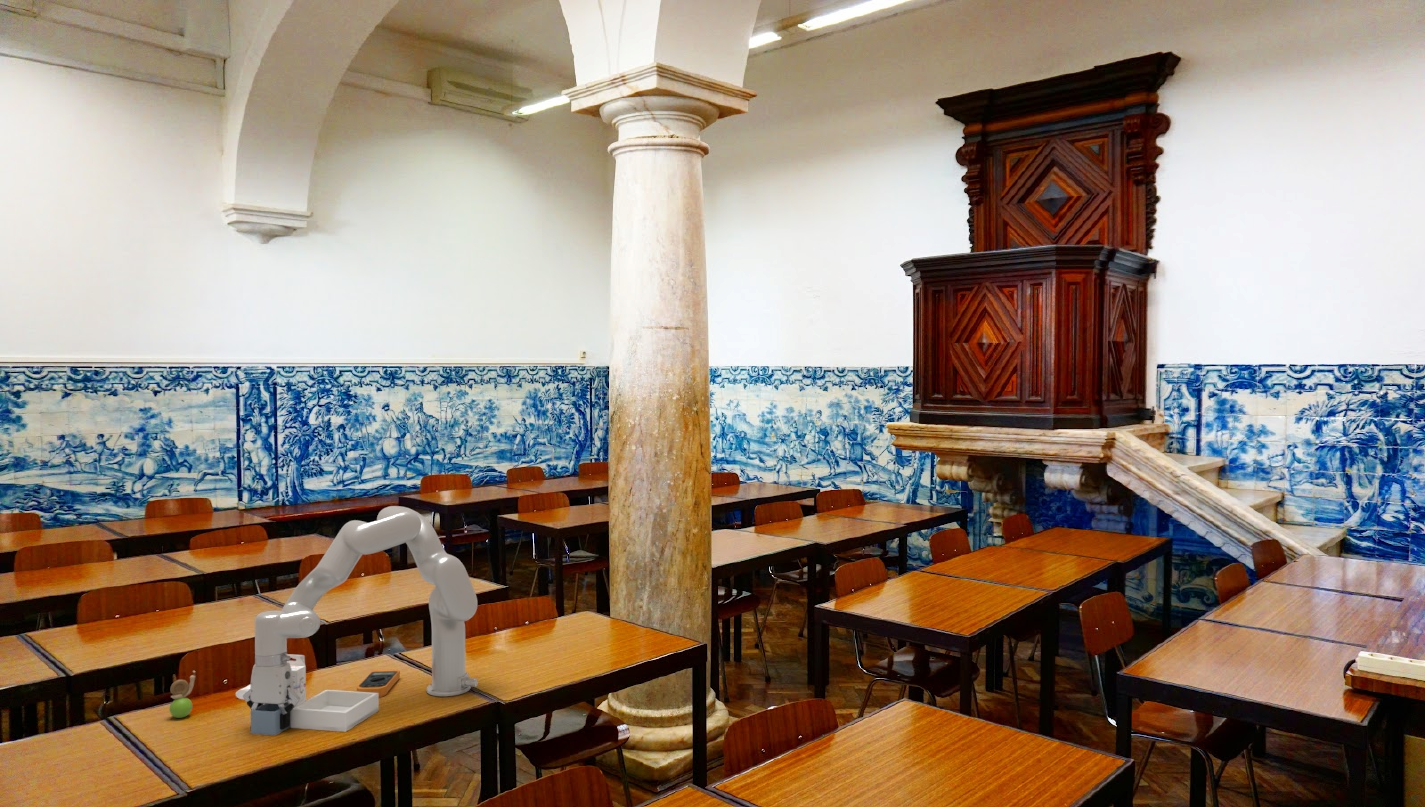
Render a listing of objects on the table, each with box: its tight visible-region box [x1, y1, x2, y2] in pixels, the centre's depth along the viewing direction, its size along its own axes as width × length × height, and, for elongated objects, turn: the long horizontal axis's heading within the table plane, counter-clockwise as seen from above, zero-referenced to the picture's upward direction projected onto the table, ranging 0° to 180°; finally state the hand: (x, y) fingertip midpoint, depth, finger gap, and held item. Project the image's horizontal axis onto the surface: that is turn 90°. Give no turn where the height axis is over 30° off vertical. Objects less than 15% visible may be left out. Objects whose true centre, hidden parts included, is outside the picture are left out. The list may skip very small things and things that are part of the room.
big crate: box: [290, 689, 380, 733], centre depth 255 cm, size 16×16×5 cm
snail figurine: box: [169, 670, 196, 719], centre depth 257 cm, size 5×6×12 cm
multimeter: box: [356, 668, 401, 698], centre depth 281 cm, size 9×18×3 cm, turn 4°
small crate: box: [250, 704, 291, 736], centre depth 247 cm, size 7×7×6 cm
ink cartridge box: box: [287, 653, 307, 706], centre depth 263 cm, size 9×5×15 cm, turn 84°
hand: (271, 726), depth 247 cm, fingers closed on small crate, 7 cm apart
